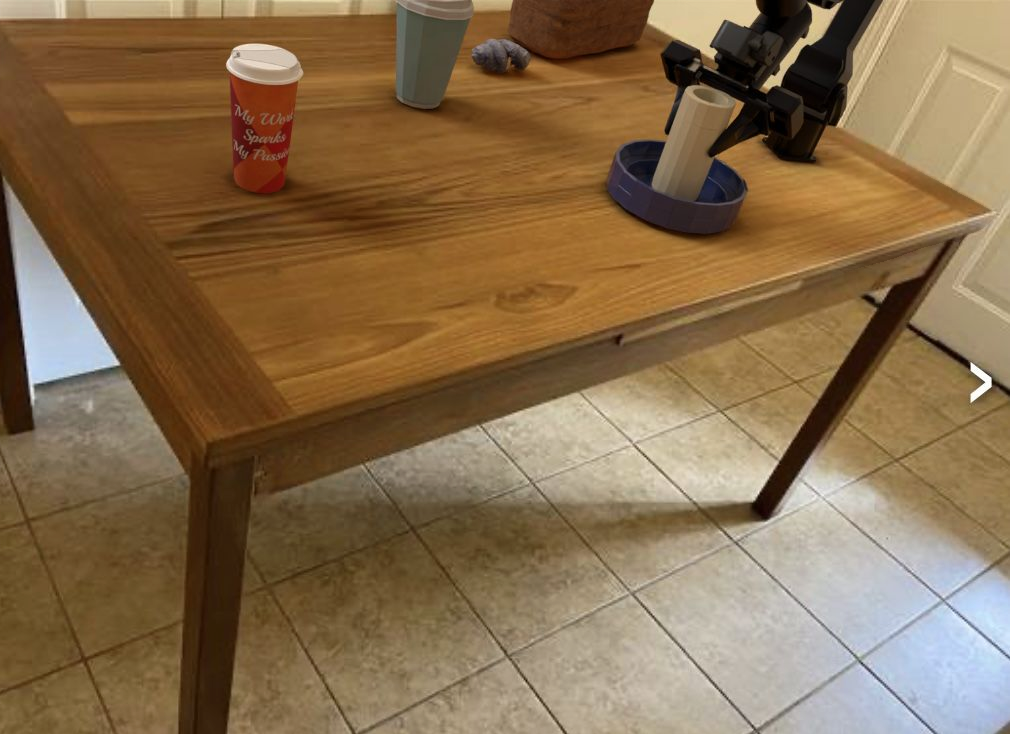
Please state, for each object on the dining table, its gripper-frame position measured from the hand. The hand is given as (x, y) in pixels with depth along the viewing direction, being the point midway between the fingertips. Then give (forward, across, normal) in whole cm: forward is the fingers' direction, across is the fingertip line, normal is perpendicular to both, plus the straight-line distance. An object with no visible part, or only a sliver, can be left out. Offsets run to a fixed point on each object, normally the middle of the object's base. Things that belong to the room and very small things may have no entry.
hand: (687, 144), depth 108 cm
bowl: (+5, 0, +7) cm, 8 cm away
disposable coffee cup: (+12, -37, 0) cm, 39 cm away
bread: (-19, -44, +31) cm, 57 cm away
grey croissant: (-2, -40, +14) cm, 43 cm away
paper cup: (+36, -27, -25) cm, 52 cm away
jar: (+4, 0, +6) cm, 7 cm away
